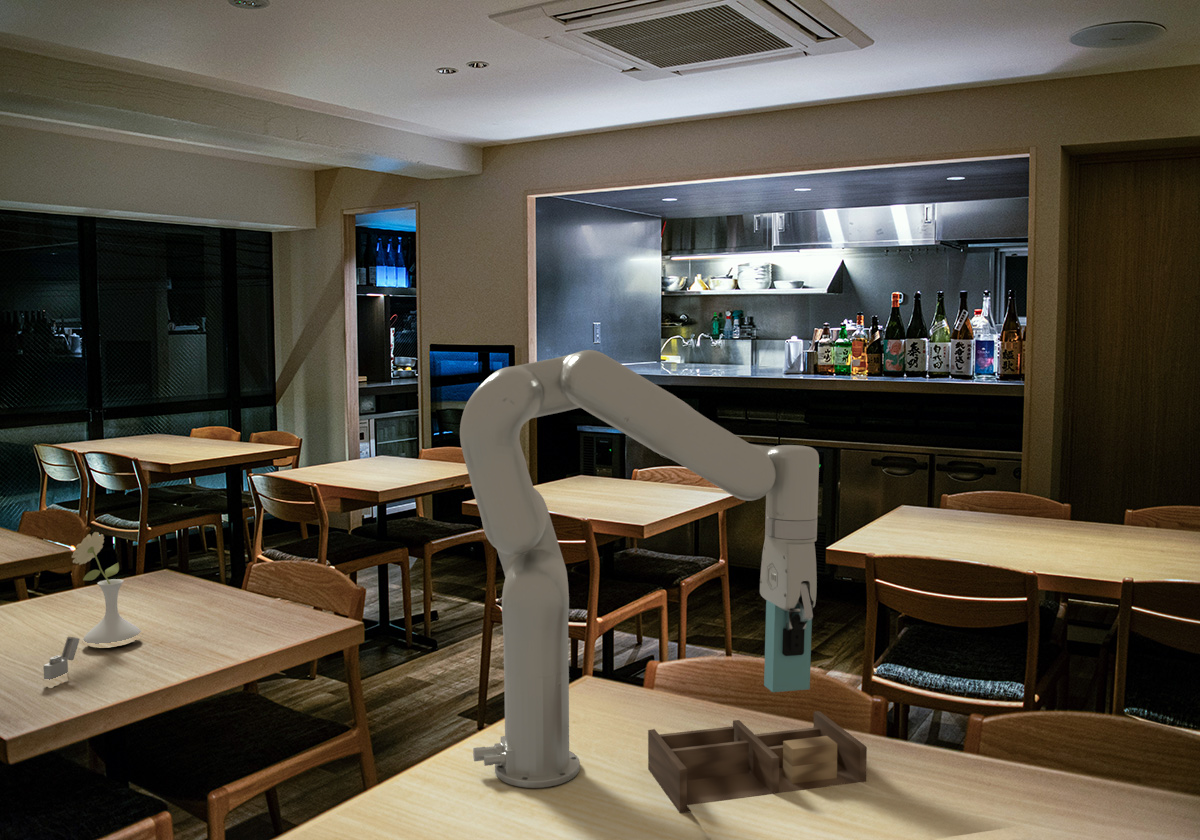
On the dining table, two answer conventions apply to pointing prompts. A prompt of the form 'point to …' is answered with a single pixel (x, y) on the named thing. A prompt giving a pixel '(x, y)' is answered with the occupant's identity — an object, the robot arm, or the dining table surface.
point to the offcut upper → (809, 751)
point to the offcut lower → (809, 772)
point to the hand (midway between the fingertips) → (787, 649)
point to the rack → (742, 762)
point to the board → (781, 668)
